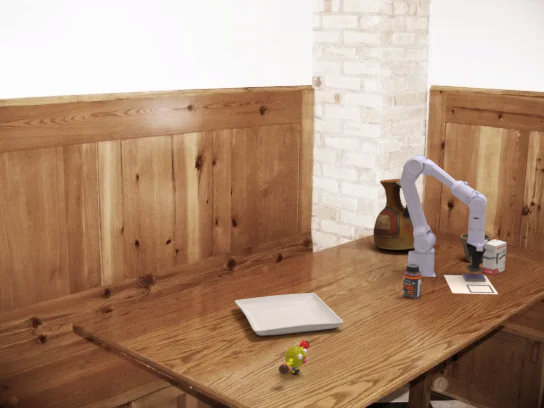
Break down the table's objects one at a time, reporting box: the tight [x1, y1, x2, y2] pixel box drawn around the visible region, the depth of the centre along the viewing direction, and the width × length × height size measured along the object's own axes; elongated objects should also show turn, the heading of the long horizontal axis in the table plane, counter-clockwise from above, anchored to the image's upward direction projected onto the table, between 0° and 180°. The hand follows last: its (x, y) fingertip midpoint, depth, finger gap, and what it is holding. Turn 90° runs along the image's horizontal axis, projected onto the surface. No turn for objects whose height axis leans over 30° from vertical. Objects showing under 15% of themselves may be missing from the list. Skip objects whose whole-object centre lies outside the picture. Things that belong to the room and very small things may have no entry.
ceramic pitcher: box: [372, 178, 415, 251], centre depth 283 cm, size 20×20×30 cm
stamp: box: [466, 256, 482, 273], centre depth 242 cm, size 4×4×5 cm
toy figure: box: [278, 339, 310, 375], centre depth 172 cm, size 18×6×7 cm, turn 158°
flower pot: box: [459, 232, 492, 263], centre depth 268 cm, size 12×11×10 cm
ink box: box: [481, 239, 507, 276], centre depth 251 cm, size 8×5×12 cm, turn 134°
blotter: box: [443, 274, 499, 295], centre depth 238 cm, size 15×20×1 cm
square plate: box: [234, 292, 344, 336], centre depth 208 cm, size 27×27×4 cm
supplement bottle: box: [402, 263, 423, 300], centre depth 225 cm, size 6×6×11 cm
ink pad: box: [461, 272, 486, 282], centre depth 243 cm, size 7×6×1 cm
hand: (474, 265), depth 243 cm, fingers closed on stamp, 3 cm apart
